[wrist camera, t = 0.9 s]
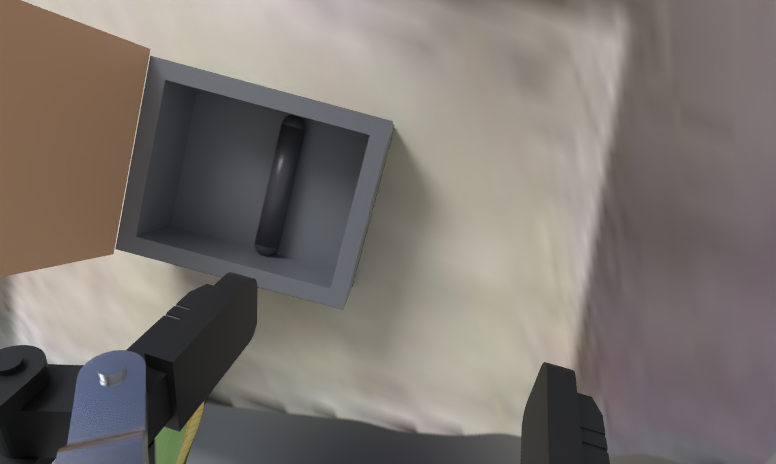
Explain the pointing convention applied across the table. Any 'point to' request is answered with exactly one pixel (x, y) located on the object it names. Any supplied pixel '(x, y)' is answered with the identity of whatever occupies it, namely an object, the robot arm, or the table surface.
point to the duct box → (251, 182)
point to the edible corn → (177, 440)
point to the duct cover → (63, 136)
